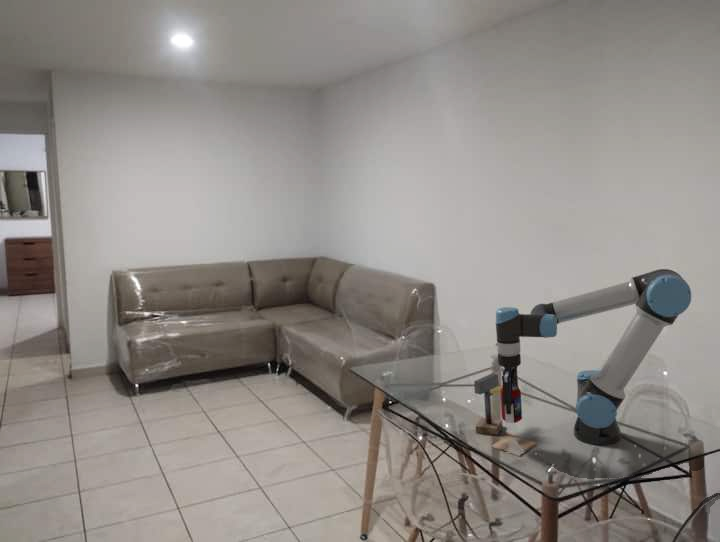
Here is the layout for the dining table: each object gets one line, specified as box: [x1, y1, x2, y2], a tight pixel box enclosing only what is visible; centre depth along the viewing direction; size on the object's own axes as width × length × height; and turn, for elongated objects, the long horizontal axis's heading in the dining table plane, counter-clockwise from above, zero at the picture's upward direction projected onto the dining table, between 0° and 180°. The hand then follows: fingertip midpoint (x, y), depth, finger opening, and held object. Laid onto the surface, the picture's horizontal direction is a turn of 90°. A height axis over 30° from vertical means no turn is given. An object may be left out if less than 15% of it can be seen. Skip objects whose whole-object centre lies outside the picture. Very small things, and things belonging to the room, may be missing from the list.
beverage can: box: [499, 384, 523, 424], centre depth 198 cm, size 7×7×12 cm
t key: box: [473, 372, 503, 424], centre depth 215 cm, size 16×2×17 cm, turn 131°
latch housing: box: [475, 417, 503, 436], centre depth 215 cm, size 8×8×2 cm
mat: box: [491, 434, 538, 453], centre depth 200 cm, size 11×11×1 cm
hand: (511, 417), depth 199 cm, fingers closed on beverage can, 7 cm apart
